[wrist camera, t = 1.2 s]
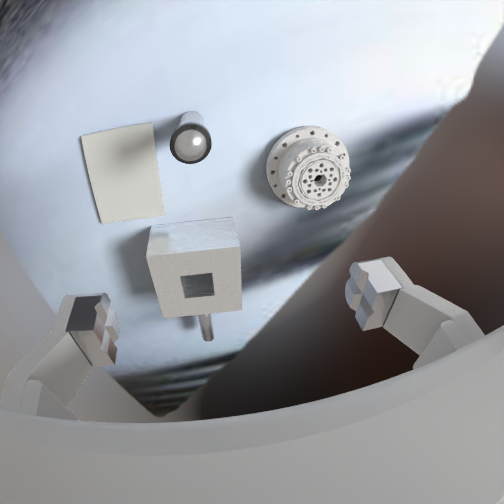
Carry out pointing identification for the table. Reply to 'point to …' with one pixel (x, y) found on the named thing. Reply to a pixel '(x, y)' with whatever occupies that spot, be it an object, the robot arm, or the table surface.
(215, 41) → the table surface
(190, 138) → the grey capped cylinder
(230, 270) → the block
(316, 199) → the mechanical component
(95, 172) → the mat
